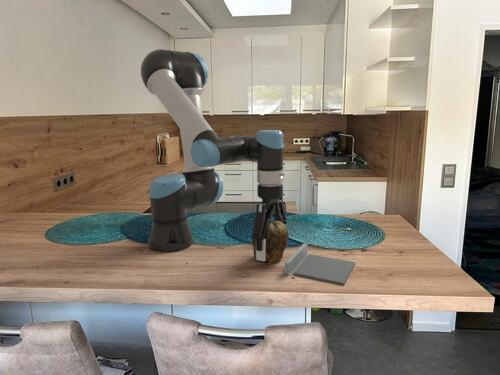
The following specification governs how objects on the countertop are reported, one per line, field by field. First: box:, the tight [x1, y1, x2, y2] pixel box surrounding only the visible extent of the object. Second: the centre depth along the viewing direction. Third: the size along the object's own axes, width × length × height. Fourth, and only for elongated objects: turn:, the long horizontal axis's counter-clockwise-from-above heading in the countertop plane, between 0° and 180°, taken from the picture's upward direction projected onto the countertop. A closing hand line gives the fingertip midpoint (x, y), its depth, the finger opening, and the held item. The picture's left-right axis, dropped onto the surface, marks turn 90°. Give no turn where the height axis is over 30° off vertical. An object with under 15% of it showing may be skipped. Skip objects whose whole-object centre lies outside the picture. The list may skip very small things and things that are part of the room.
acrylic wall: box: [284, 242, 309, 276], centre depth 105 cm, size 1×16×4 cm, turn 153°
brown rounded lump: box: [251, 219, 290, 265], centre depth 108 cm, size 11×11×12 cm
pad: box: [292, 253, 356, 286], centre depth 102 cm, size 14×14×1 cm
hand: (270, 251), depth 109 cm, fingers open, 13 cm apart
